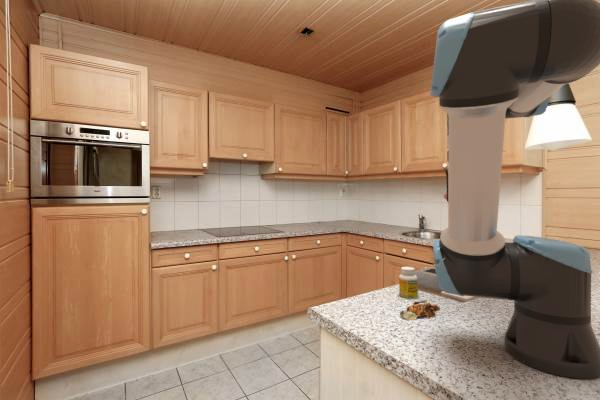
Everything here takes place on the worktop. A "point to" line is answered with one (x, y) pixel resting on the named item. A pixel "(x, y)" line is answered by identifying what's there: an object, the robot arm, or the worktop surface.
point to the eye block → (427, 279)
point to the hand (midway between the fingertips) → (461, 224)
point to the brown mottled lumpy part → (419, 310)
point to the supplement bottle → (408, 283)
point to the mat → (458, 296)
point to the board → (440, 294)
